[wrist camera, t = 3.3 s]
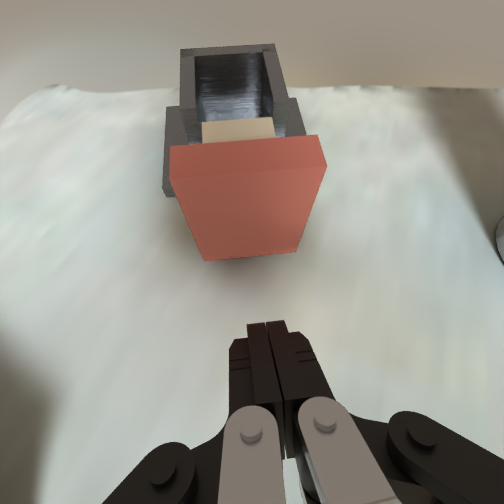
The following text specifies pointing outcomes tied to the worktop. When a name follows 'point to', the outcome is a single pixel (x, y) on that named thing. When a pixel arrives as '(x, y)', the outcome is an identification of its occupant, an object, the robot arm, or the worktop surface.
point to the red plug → (246, 187)
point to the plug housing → (228, 95)
